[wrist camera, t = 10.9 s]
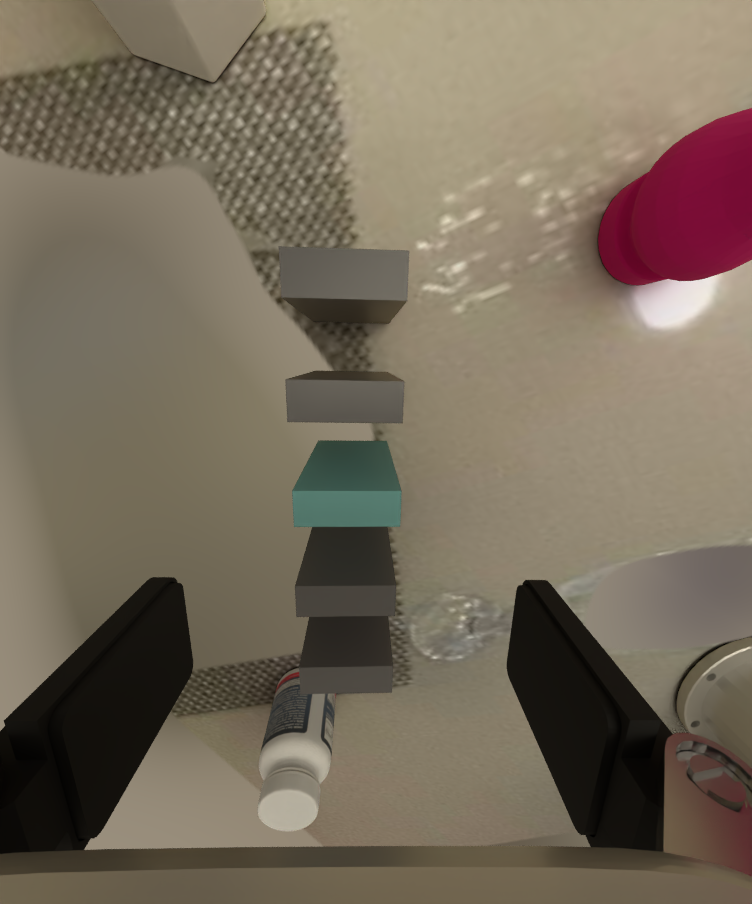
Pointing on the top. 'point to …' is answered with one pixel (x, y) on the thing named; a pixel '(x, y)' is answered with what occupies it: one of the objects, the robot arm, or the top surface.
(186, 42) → the jar
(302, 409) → the domino
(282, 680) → the pill bottle
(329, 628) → the domino
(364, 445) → the domino
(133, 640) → the robot arm
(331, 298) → the domino
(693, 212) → the pepper mill
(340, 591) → the domino
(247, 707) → the top surface
